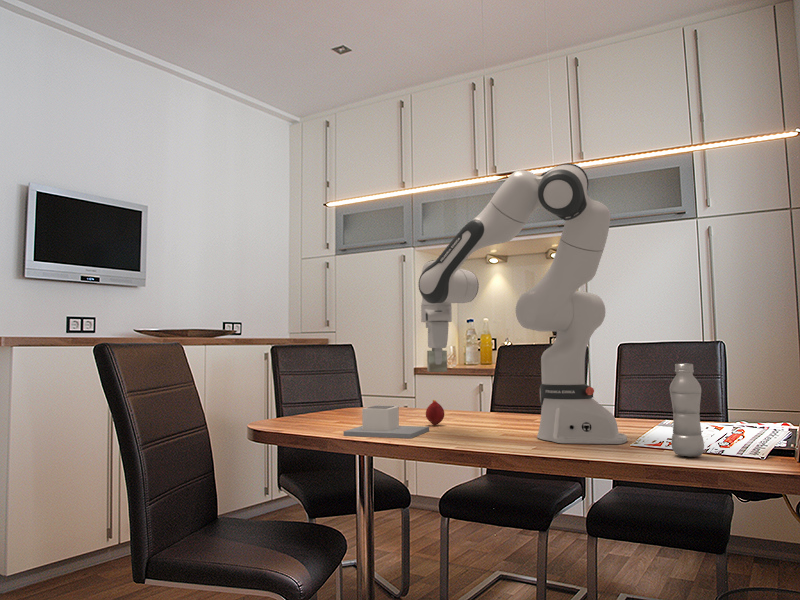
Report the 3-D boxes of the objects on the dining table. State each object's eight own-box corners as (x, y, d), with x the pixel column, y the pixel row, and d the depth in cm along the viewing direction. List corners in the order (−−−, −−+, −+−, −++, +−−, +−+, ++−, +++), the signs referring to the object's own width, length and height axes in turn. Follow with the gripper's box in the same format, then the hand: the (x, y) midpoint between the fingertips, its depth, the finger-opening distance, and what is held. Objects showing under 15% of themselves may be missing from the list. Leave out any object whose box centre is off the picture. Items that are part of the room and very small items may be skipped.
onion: (444, 424, 195) (444, 398, 196) (444, 426, 190) (443, 400, 190) (426, 424, 196) (426, 399, 197) (425, 426, 190) (424, 400, 191)
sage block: (447, 371, 176) (446, 350, 177) (429, 372, 176) (429, 350, 176) (444, 370, 181) (444, 350, 182) (427, 371, 181) (427, 350, 181)
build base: (429, 430, 181) (428, 405, 182) (410, 438, 166) (410, 410, 167) (366, 428, 188) (366, 403, 189) (343, 435, 173) (343, 408, 174)
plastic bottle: (694, 453, 138) (690, 363, 139) (711, 459, 131) (706, 364, 132) (666, 454, 137) (662, 363, 139) (681, 459, 131) (676, 364, 132)
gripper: (422, 317, 190) (423, 363, 189) (428, 314, 170) (429, 365, 169) (443, 317, 190) (444, 362, 189) (451, 314, 170) (452, 365, 169)
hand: (437, 364), depth 179 cm, fingers closed on sage block, 5 cm apart
